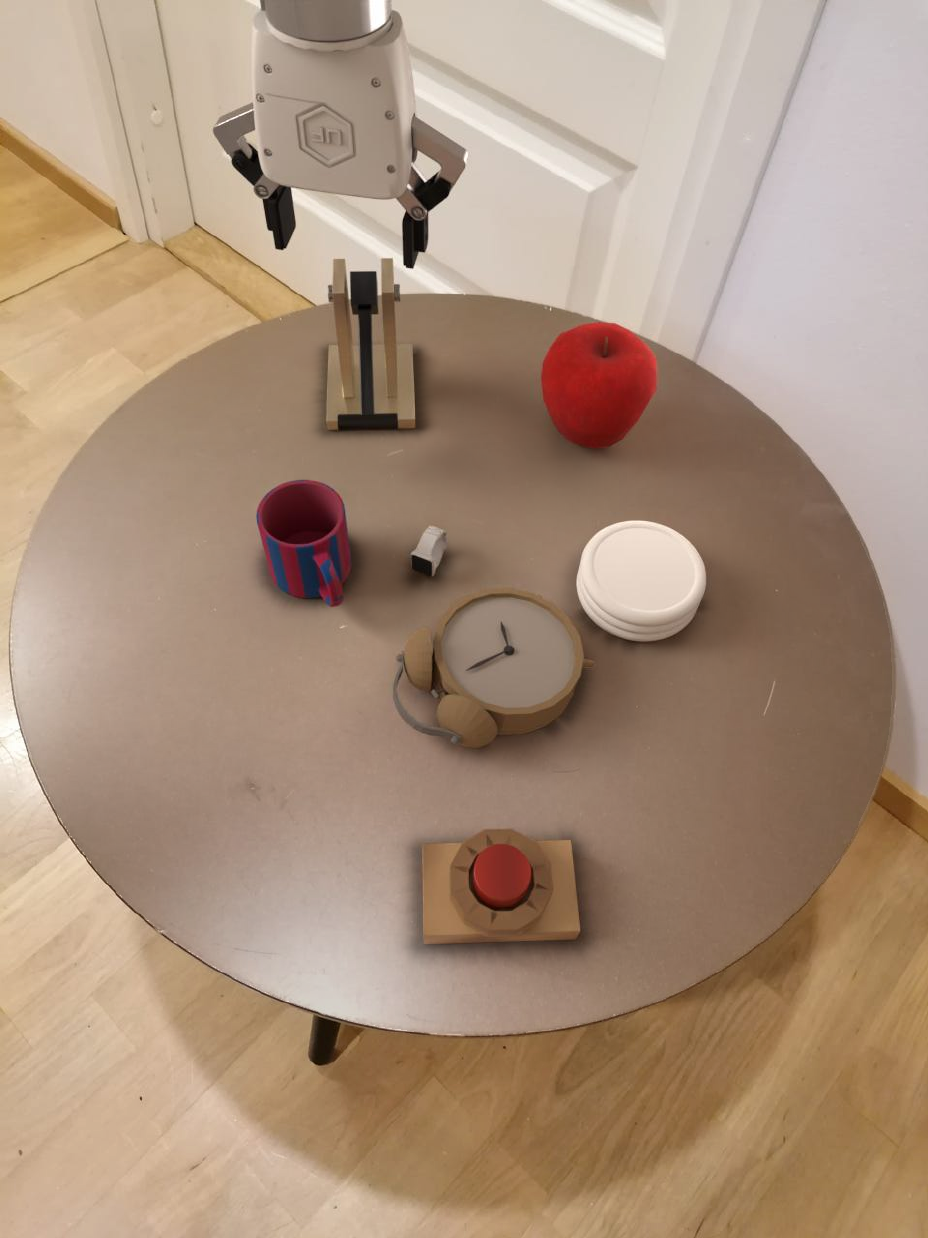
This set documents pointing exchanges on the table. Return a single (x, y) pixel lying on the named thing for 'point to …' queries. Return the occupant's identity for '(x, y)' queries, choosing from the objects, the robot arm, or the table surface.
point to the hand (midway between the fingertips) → (349, 247)
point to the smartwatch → (429, 551)
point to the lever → (366, 357)
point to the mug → (306, 539)
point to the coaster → (640, 580)
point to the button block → (471, 920)
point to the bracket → (387, 358)
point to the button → (501, 875)
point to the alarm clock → (494, 666)
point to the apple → (597, 383)
